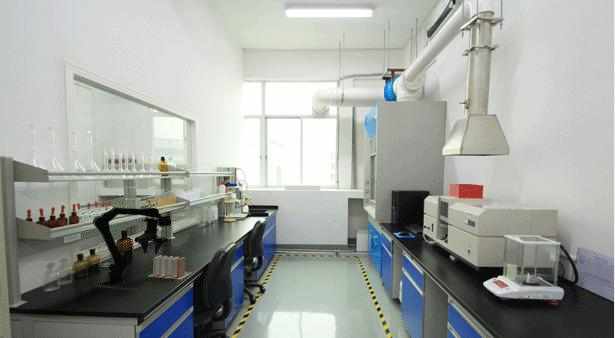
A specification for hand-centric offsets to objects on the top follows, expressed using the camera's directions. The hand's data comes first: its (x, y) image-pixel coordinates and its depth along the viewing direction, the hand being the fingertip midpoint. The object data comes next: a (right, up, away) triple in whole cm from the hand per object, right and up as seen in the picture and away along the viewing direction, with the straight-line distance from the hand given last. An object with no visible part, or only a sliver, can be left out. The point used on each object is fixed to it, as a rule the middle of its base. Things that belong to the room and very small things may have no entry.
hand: (150, 253), depth 153 cm
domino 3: (+13, -12, -2) cm, 17 cm away
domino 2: (+9, -12, -2) cm, 15 cm away
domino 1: (+5, -12, -1) cm, 13 cm away
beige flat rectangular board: (+14, -13, -3) cm, 19 cm away
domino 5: (+20, -12, -4) cm, 24 cm away
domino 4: (+16, -12, -3) cm, 20 cm away
